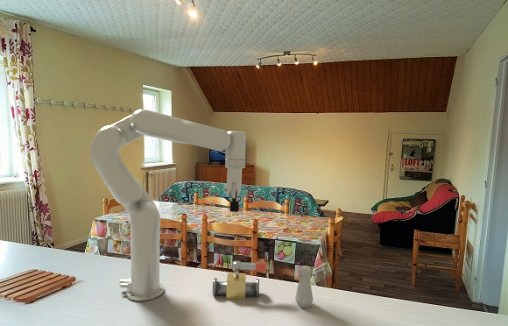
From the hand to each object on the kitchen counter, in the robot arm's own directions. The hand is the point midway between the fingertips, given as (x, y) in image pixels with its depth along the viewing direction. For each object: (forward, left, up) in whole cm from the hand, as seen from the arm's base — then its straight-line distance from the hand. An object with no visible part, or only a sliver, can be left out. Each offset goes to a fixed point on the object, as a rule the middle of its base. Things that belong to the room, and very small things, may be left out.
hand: (234, 211), depth 122 cm
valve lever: (+6, -12, -18) cm, 22 cm away
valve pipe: (+2, -12, -27) cm, 30 cm away
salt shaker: (+25, -18, -27) cm, 41 cm away
